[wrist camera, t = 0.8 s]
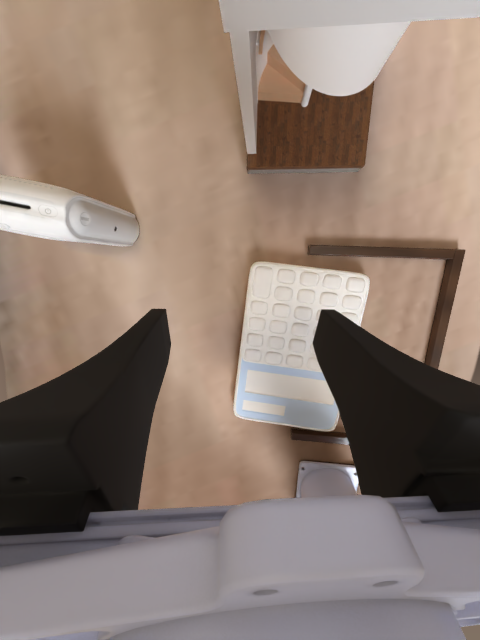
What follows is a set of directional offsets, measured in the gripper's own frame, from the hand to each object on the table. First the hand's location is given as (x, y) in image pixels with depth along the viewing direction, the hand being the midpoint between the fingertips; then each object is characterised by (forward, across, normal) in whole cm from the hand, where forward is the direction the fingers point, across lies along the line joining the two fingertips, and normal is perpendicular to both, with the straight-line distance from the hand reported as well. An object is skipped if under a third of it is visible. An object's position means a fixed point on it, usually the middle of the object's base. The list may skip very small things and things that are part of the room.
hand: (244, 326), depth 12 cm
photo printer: (+23, +16, +2) cm, 28 cm away
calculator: (+14, -8, +14) cm, 21 cm away
